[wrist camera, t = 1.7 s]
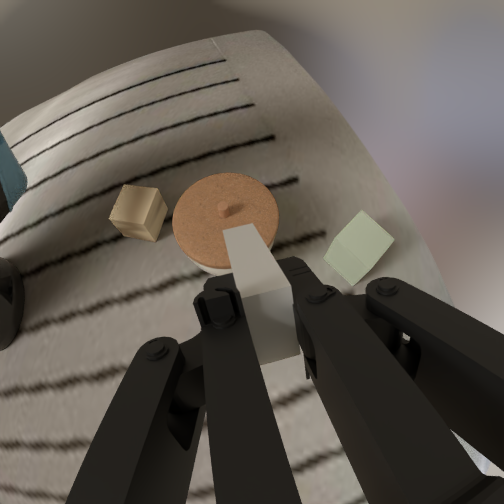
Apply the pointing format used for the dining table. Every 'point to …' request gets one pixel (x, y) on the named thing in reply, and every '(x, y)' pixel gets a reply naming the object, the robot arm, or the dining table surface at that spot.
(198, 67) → the dining table surface
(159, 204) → the beech block
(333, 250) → the sage block
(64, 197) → the dining table surface
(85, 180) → the dining table surface
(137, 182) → the dining table surface
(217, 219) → the lidded jar
